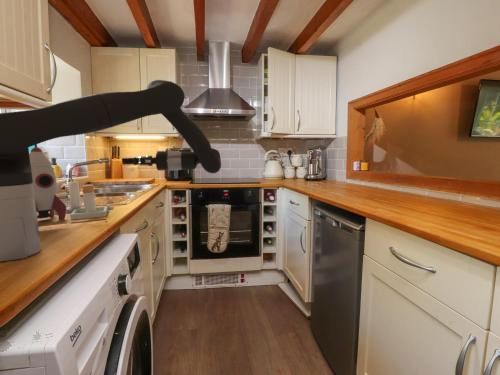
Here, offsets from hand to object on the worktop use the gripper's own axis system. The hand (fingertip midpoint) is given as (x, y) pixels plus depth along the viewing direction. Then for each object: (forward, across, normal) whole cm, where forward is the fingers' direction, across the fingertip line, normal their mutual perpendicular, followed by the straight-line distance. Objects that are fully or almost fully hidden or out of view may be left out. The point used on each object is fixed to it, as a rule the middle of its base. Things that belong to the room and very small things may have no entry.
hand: (125, 160), depth 103 cm
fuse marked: (+13, 0, +21) cm, 25 cm away
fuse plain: (+22, -8, +20) cm, 31 cm away
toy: (+26, +5, +22) cm, 35 cm away
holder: (+22, -8, +22) cm, 32 cm away
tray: (+13, 0, +22) cm, 26 cm away
